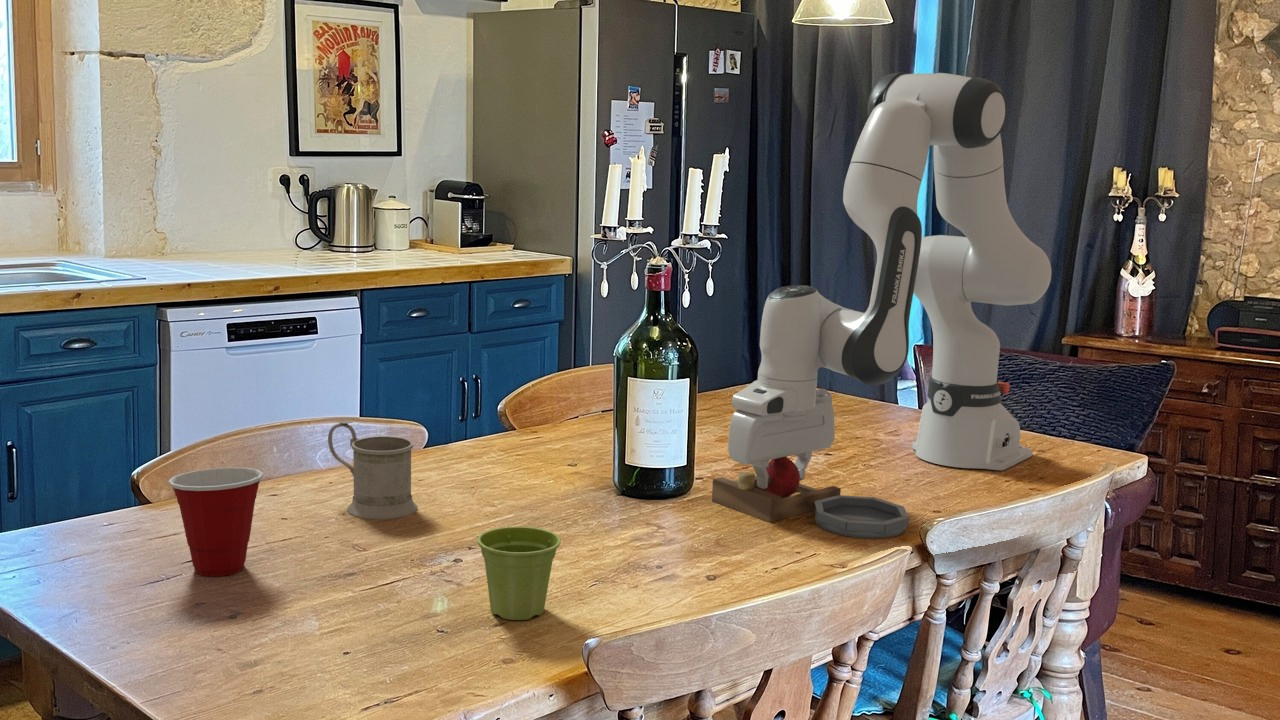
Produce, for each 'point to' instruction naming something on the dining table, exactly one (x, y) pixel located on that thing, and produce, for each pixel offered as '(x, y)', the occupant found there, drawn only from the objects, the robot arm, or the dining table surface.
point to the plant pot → (518, 569)
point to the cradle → (766, 498)
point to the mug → (379, 475)
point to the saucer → (860, 516)
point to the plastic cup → (217, 516)
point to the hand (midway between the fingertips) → (780, 483)
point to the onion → (783, 477)
